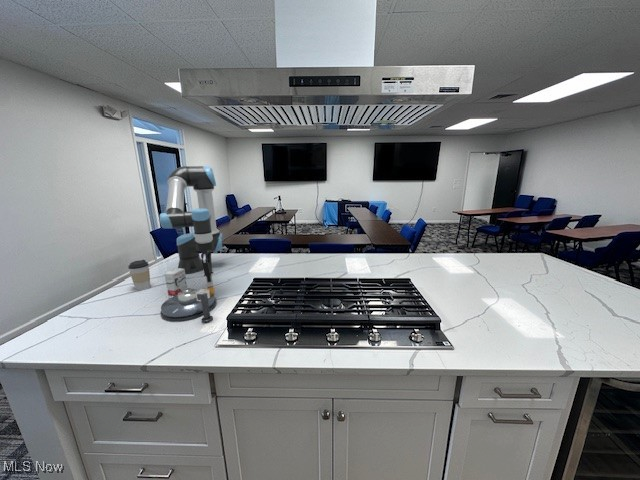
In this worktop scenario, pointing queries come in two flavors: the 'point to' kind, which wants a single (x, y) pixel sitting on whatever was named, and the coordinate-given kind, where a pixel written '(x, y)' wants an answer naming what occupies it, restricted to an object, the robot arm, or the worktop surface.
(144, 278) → the coffee cup
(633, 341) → the worktop surface
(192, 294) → the cover
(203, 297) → the dial post
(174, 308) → the turntable
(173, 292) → the ink box
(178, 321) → the base
